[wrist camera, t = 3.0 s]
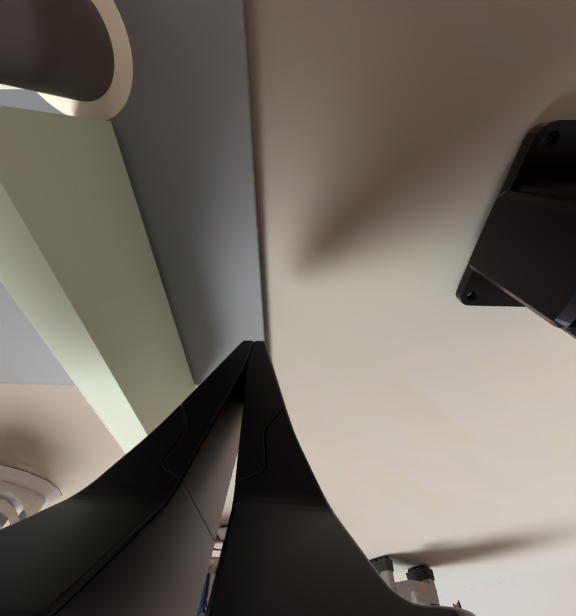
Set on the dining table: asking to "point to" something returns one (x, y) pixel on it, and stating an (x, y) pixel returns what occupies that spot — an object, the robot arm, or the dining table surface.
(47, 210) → the swing panel
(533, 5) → the dining table surface
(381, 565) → the figurine
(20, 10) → the brown wooden bar
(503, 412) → the dining table surface
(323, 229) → the dining table surface
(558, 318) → the robot arm
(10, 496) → the french press
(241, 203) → the card
